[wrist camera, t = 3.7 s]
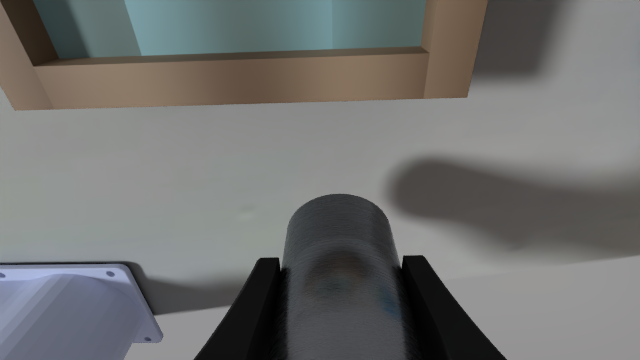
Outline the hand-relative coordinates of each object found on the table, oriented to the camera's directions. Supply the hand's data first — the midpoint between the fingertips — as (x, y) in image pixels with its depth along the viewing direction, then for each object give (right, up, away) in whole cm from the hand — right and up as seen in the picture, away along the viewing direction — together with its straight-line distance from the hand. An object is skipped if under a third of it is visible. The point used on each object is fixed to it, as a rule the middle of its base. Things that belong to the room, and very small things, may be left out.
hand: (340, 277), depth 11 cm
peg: (0, +1, +2) cm, 2 cm away
